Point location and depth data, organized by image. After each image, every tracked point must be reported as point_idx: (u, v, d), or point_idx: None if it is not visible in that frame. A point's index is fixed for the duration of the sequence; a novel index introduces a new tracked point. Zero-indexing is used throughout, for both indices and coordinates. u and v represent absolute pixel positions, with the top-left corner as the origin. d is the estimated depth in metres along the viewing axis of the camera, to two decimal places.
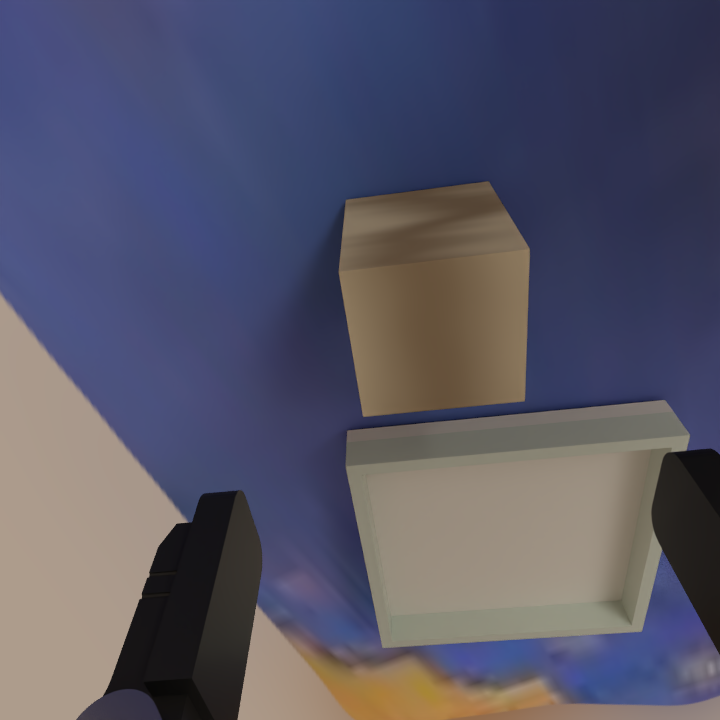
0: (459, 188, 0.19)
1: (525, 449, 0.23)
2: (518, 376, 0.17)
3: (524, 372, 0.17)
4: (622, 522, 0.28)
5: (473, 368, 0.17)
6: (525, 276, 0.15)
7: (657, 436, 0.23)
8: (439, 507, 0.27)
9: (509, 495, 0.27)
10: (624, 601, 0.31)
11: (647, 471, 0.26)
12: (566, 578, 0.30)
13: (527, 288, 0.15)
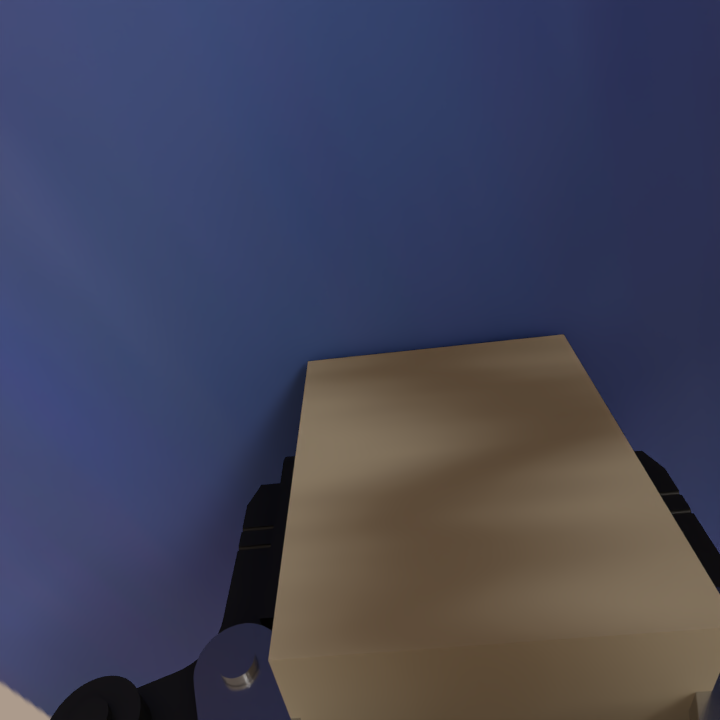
0: (512, 349, 0.11)
1: None
2: None
3: None
4: None
5: None
6: (713, 666, 0.06)
7: None
8: None
9: None
10: None
11: None
12: None
13: (712, 682, 0.07)
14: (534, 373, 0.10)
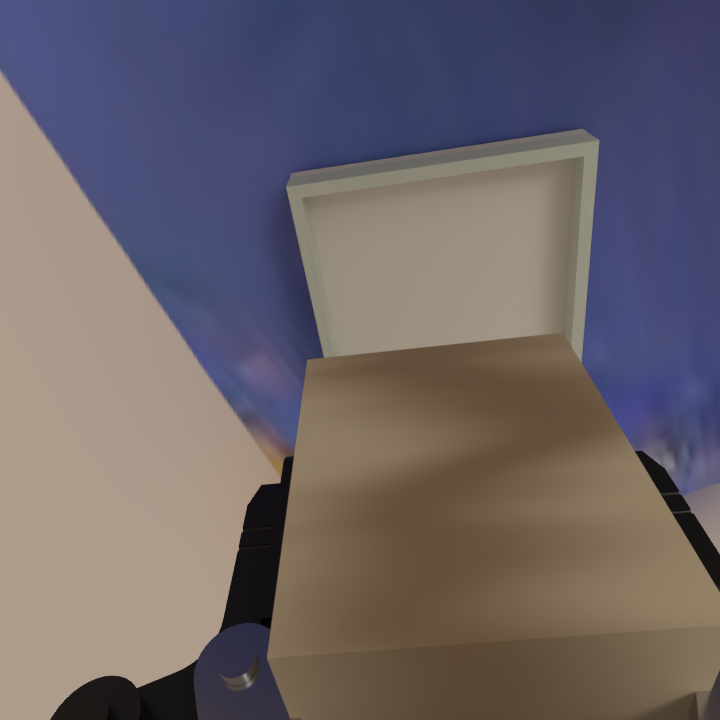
0: (511, 347, 0.11)
1: (449, 162, 0.25)
2: None
3: None
4: (553, 272, 0.30)
5: None
6: (713, 664, 0.06)
7: (570, 144, 0.25)
8: (381, 256, 0.29)
9: (445, 240, 0.29)
10: None
11: (571, 207, 0.28)
12: None
13: (712, 680, 0.07)
14: (533, 371, 0.10)
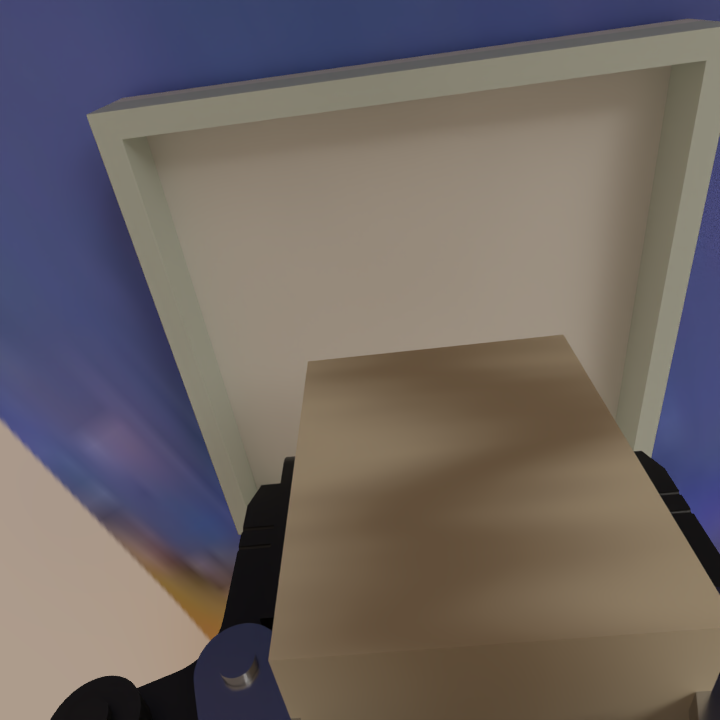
0: (512, 349, 0.11)
1: (425, 67, 0.12)
2: None
3: None
4: (610, 296, 0.17)
5: None
6: (713, 666, 0.06)
7: (679, 33, 0.12)
8: (301, 262, 0.16)
9: (418, 235, 0.16)
10: None
11: (655, 175, 0.15)
12: None
13: (712, 682, 0.07)
14: (534, 373, 0.10)
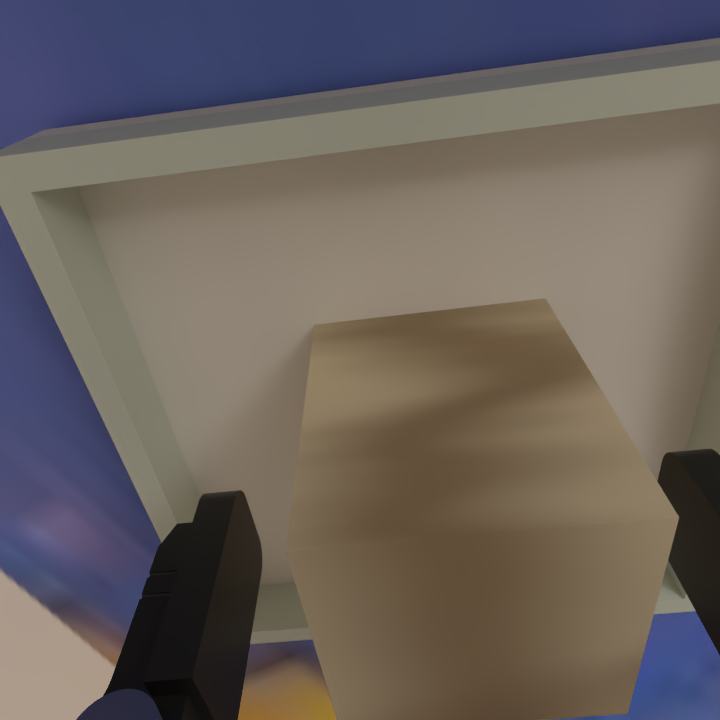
0: (499, 311, 0.12)
1: (448, 96, 0.09)
2: (622, 685, 0.09)
3: (633, 680, 0.09)
4: (675, 375, 0.13)
5: (542, 676, 0.09)
6: (661, 557, 0.07)
7: None
8: (283, 336, 0.13)
9: (433, 304, 0.12)
10: None
11: None
12: None
13: (662, 573, 0.08)
14: (517, 330, 0.11)
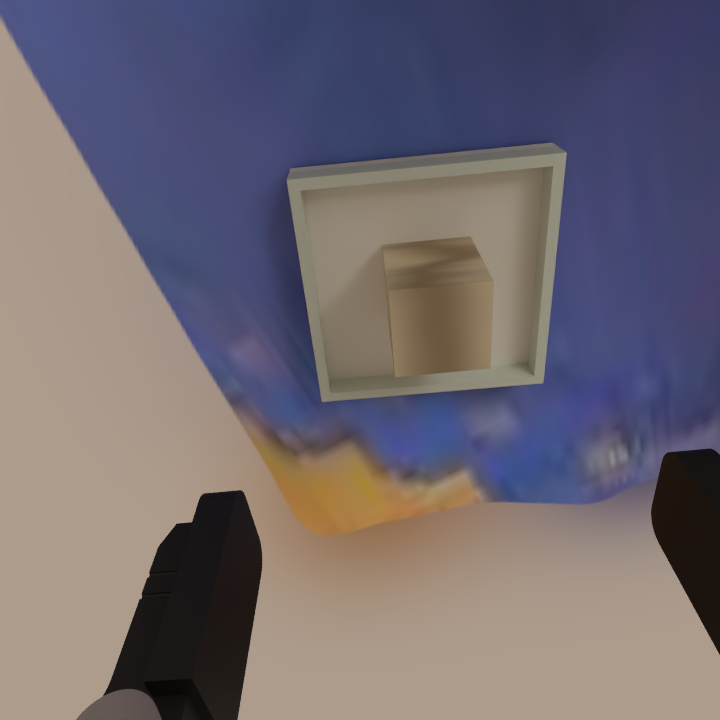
0: (452, 240, 0.32)
1: (435, 165, 0.28)
2: (487, 353, 0.29)
3: (490, 351, 0.29)
4: (523, 270, 0.33)
5: (461, 348, 0.29)
6: (491, 295, 0.27)
7: (541, 155, 0.28)
8: (369, 249, 0.32)
9: (427, 237, 0.32)
10: (529, 360, 0.36)
11: (541, 211, 0.31)
12: None
13: (492, 302, 0.27)
14: (458, 245, 0.31)
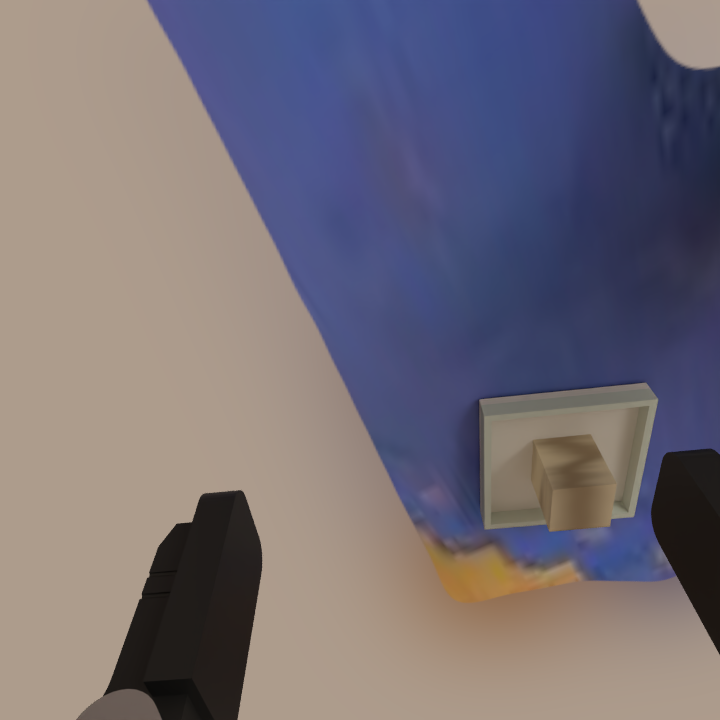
0: (579, 437, 0.50)
1: (576, 406, 0.46)
2: (608, 518, 0.47)
3: (610, 517, 0.47)
4: (623, 451, 0.51)
5: (592, 516, 0.47)
6: (614, 490, 0.45)
7: (642, 400, 0.46)
8: (524, 442, 0.50)
9: (563, 435, 0.50)
10: (624, 500, 0.54)
11: (637, 420, 0.49)
12: None
13: (614, 493, 0.45)
14: (585, 444, 0.49)
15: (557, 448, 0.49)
